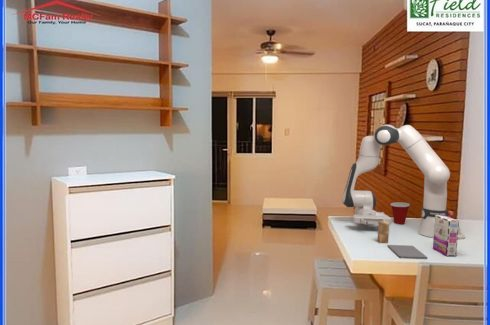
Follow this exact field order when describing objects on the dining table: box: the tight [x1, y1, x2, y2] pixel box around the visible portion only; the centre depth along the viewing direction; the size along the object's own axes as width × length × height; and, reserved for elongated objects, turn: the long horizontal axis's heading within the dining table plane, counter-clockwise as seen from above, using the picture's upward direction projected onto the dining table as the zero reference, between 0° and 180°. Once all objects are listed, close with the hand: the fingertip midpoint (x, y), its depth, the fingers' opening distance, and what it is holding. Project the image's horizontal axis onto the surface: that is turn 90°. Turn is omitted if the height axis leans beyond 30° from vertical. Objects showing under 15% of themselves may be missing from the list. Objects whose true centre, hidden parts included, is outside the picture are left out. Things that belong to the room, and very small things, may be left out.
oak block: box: [376, 221, 390, 244], centre depth 189 cm, size 4×4×10 cm
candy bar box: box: [432, 215, 460, 257], centre depth 175 cm, size 11×5×16 cm, turn 5°
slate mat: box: [386, 244, 428, 260], centre depth 174 cm, size 12×16×1 cm
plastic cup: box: [390, 201, 411, 225], centre depth 227 cm, size 11×11×12 cm
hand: (375, 223), depth 201 cm, fingers open, 8 cm apart
